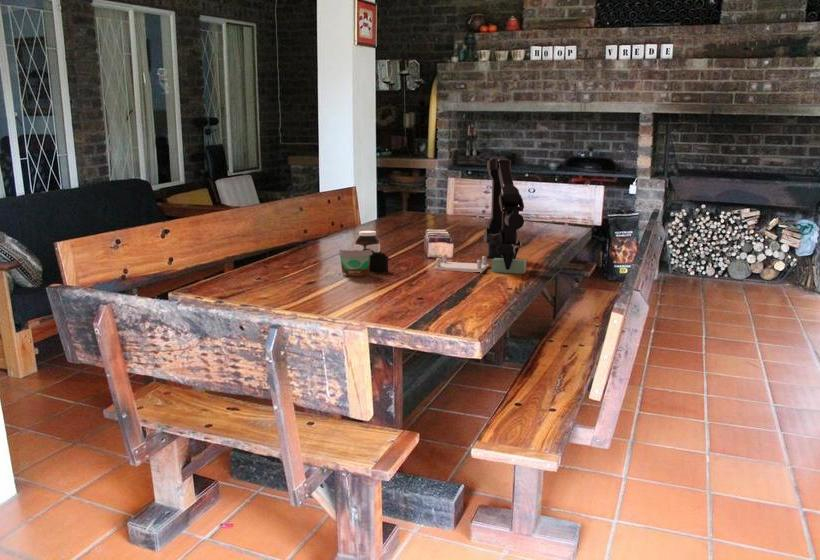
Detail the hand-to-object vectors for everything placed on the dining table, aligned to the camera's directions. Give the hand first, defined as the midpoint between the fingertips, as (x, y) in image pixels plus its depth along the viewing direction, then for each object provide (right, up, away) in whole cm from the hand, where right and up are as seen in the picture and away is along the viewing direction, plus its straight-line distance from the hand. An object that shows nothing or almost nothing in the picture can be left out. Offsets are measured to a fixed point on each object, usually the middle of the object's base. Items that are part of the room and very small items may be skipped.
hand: (508, 268), depth 270 cm
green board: (0, -1, 0) cm, 1 cm away
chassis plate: (-17, 0, +6) cm, 18 cm away
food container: (-56, -4, -9) cm, 56 cm away
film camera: (-51, -1, +3) cm, 51 cm away
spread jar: (-55, +3, +27) cm, 61 cm away
